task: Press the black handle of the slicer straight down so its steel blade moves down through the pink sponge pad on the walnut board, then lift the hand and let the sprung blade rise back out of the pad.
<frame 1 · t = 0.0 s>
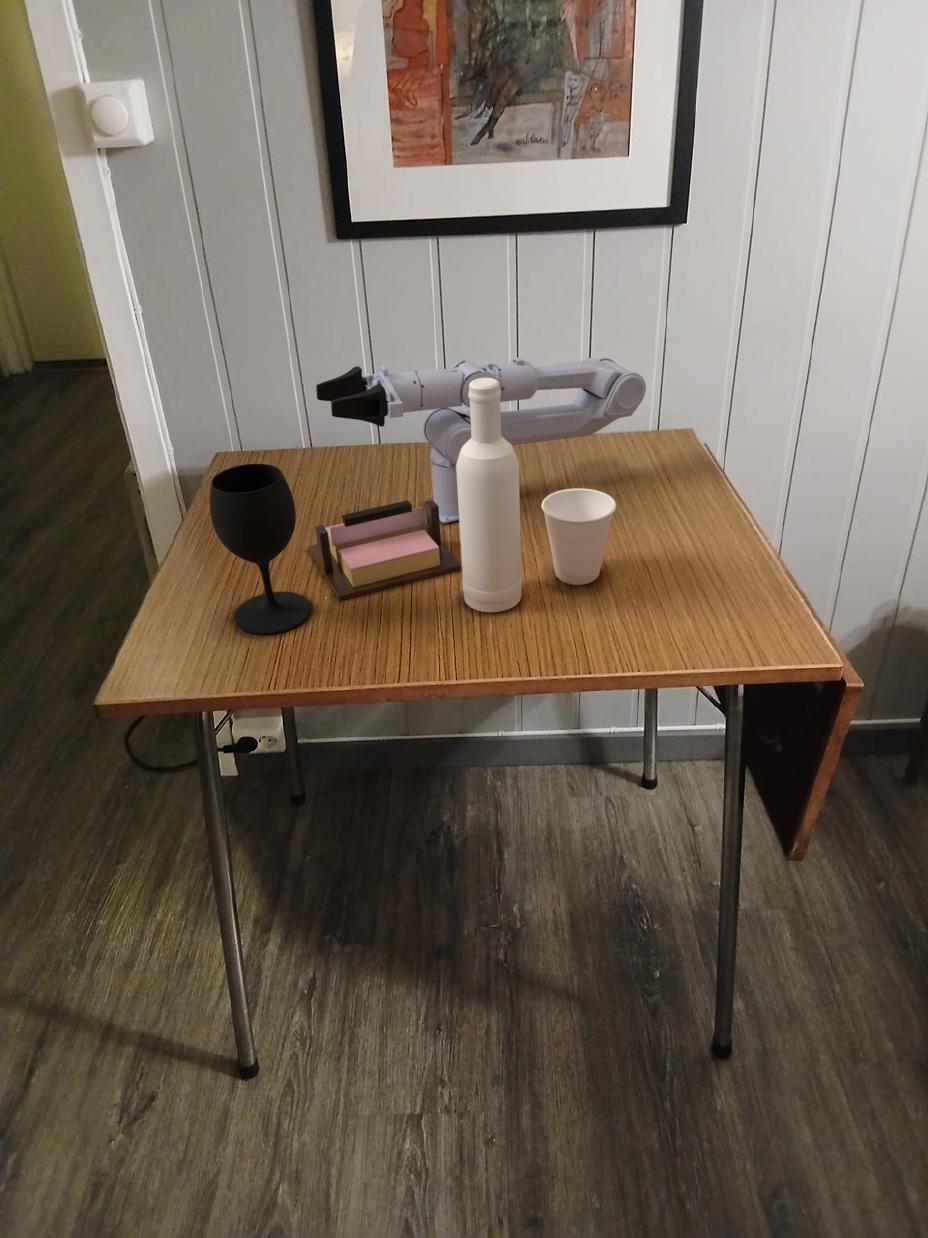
hand: (324, 400, 131), 22 cm above the table, tool horizontal, fingers open, 7 cm apart
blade: (378, 522, 133), point 6 cm above the table, slide at 0.0 cm
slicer: (382, 560, 136), on the table
bottle: (492, 599, 126), on the table
cup: (577, 576, 130), on the table
wine glass: (273, 615, 125), on the table
pink sponge pad: (382, 560, 136), resting on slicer
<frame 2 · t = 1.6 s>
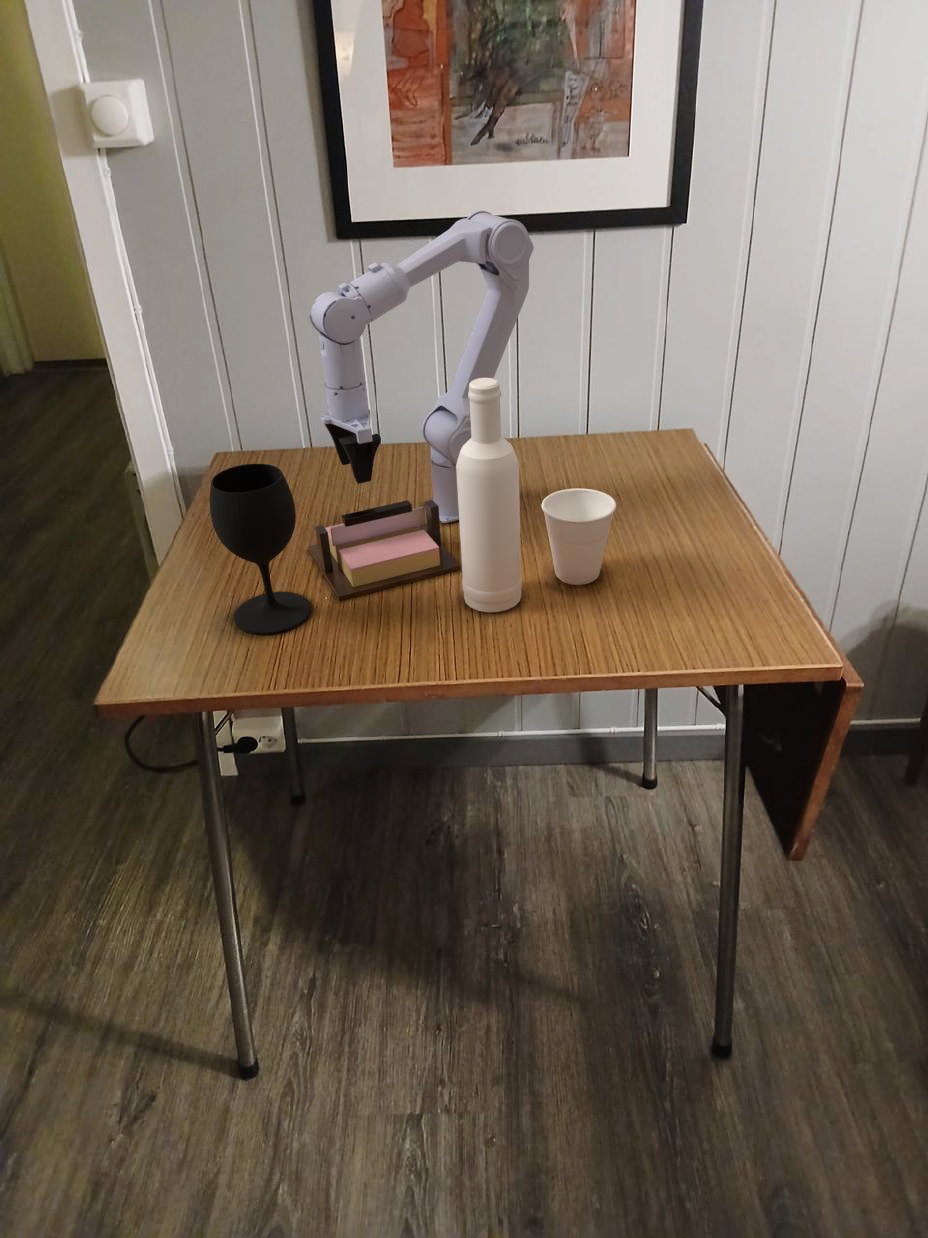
hand: (356, 472, 137), 10 cm above the table, tool pointing down, fingers open, 7 cm apart
nothing on the table moved.
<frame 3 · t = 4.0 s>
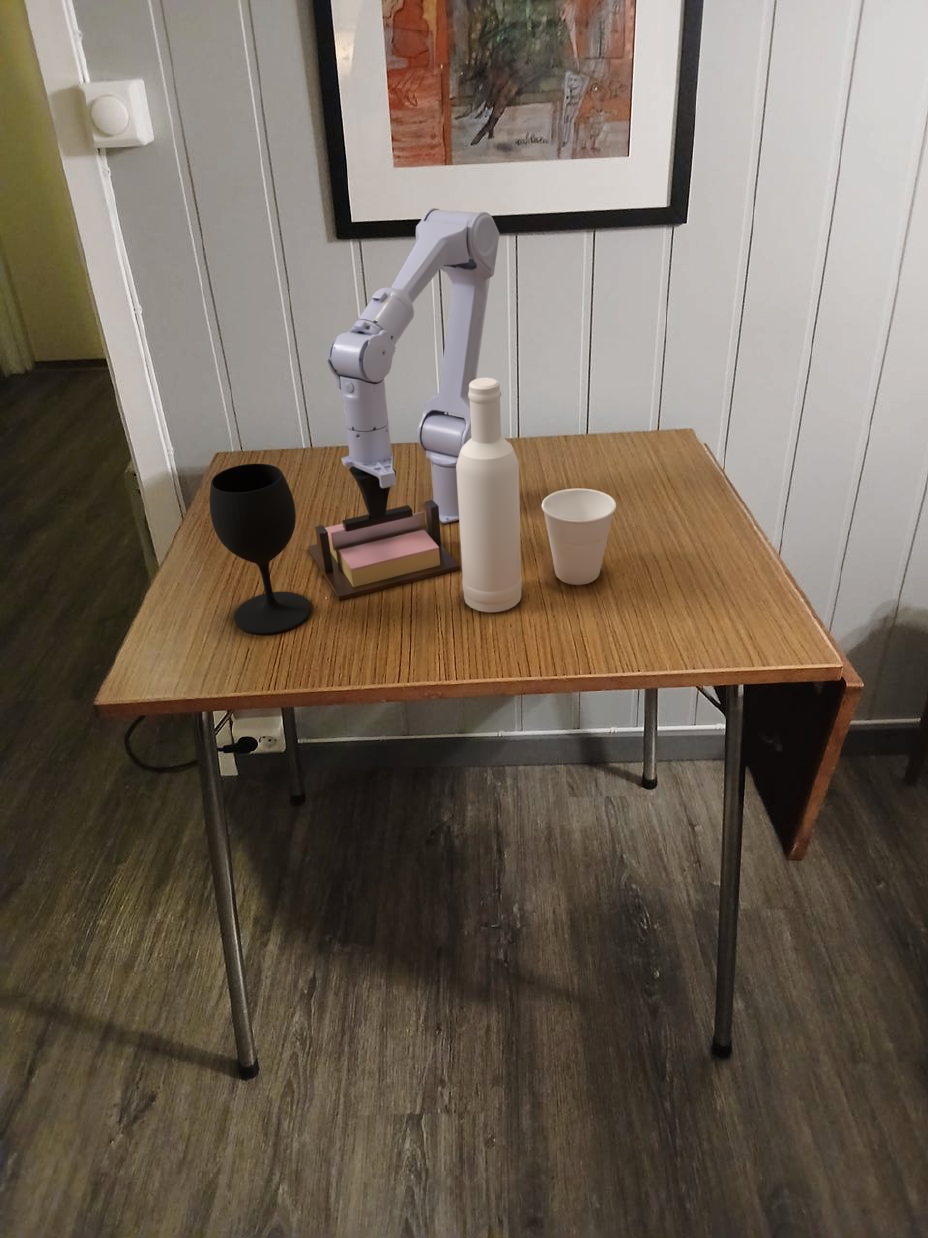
hand: (377, 514, 132), 7 cm above the table, tool pointing down, fingers closed, pressing on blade
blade: (378, 527, 133), point 5 cm above the table, slide at -0.8 cm, touching gripper
everything else where it was.
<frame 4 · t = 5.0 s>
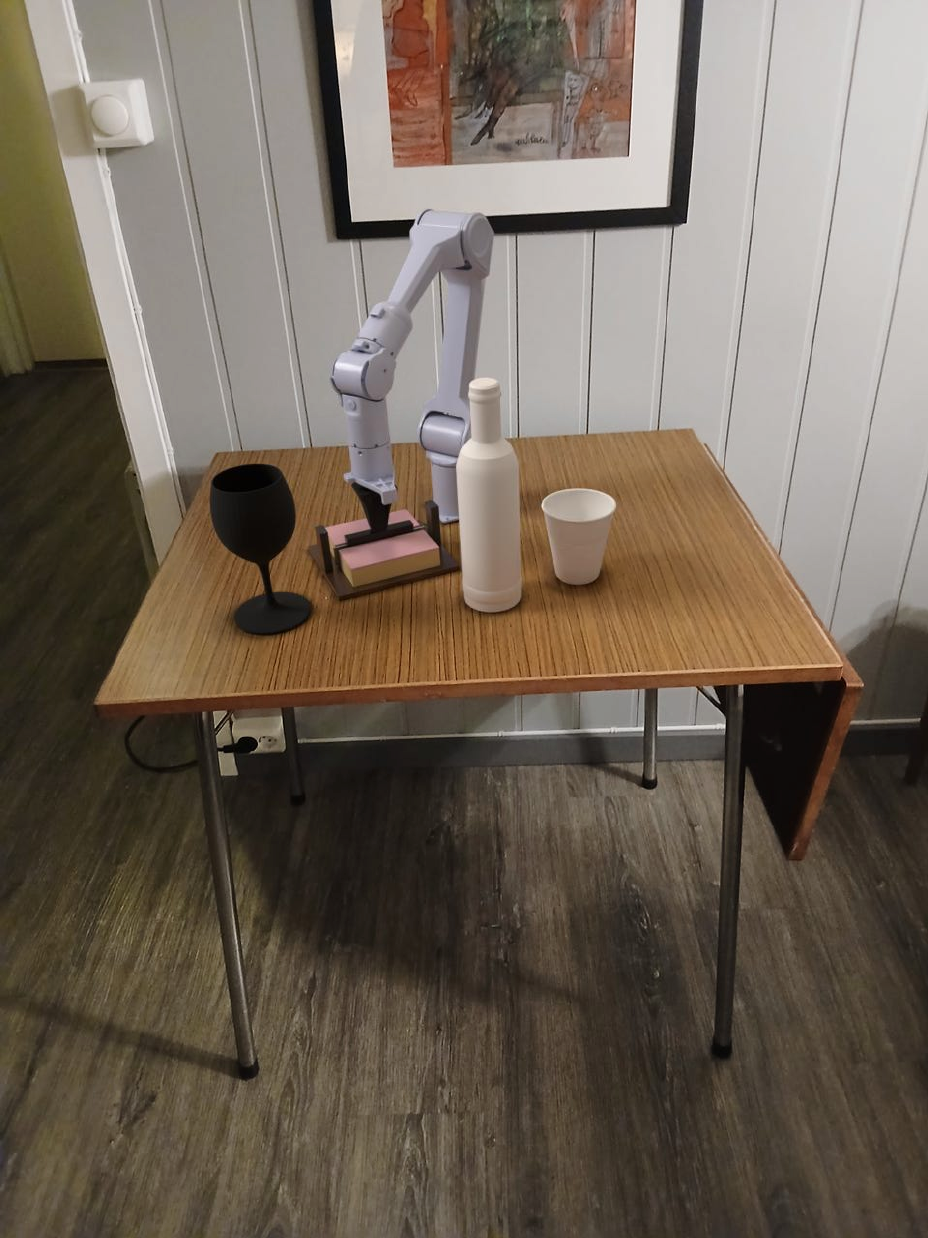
hand: (378, 529, 133), 5 cm above the table, tool pointing down, fingers closed, pressing on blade
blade: (380, 541, 134), point 3 cm above the table, slide at -3.1 cm, touching gripper
everything else where it was.
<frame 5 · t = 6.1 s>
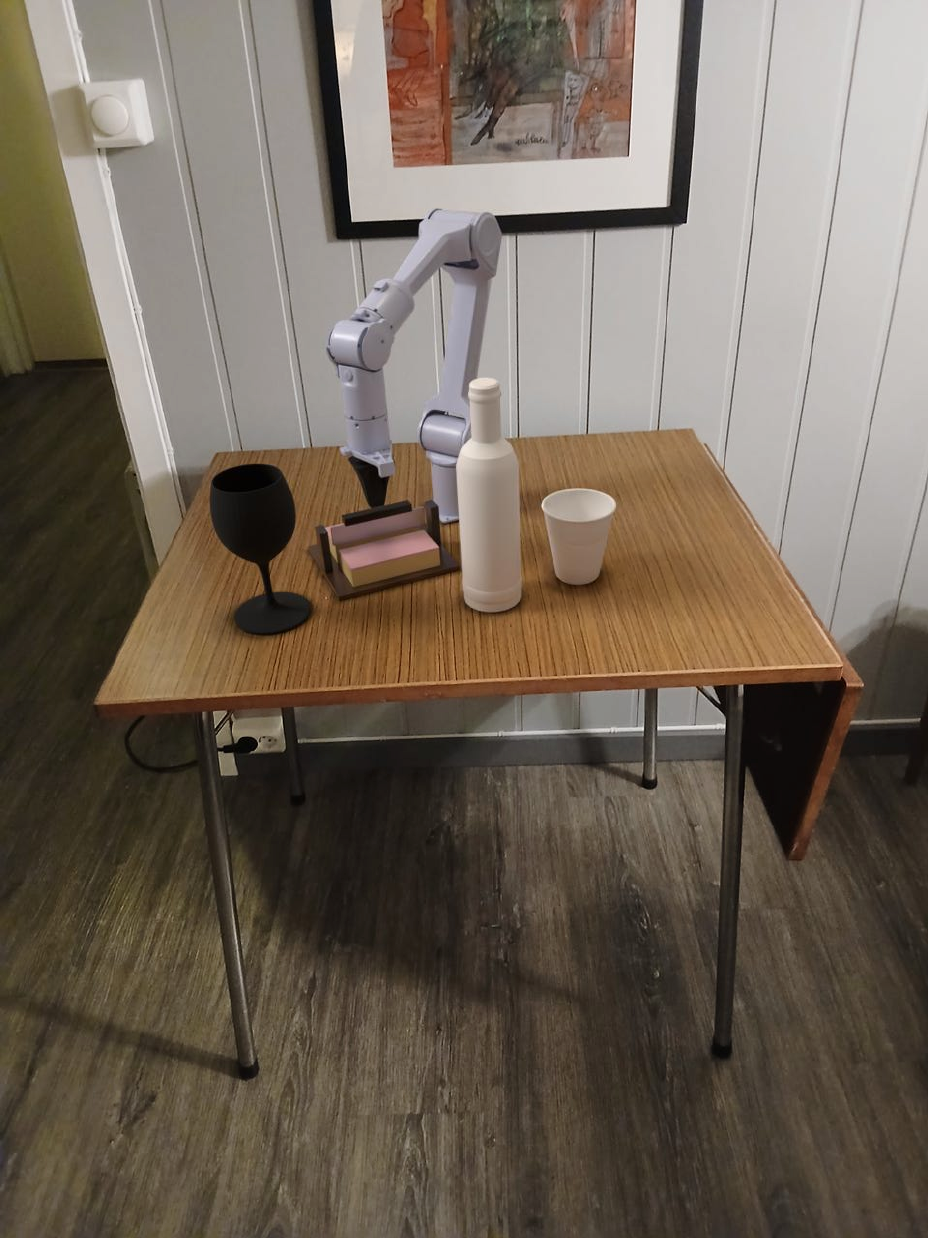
hand: (376, 504, 131), 9 cm above the table, tool pointing down, fingers closed
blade: (378, 521, 133), point 6 cm above the table, slide at 0.1 cm
everything else where it was.
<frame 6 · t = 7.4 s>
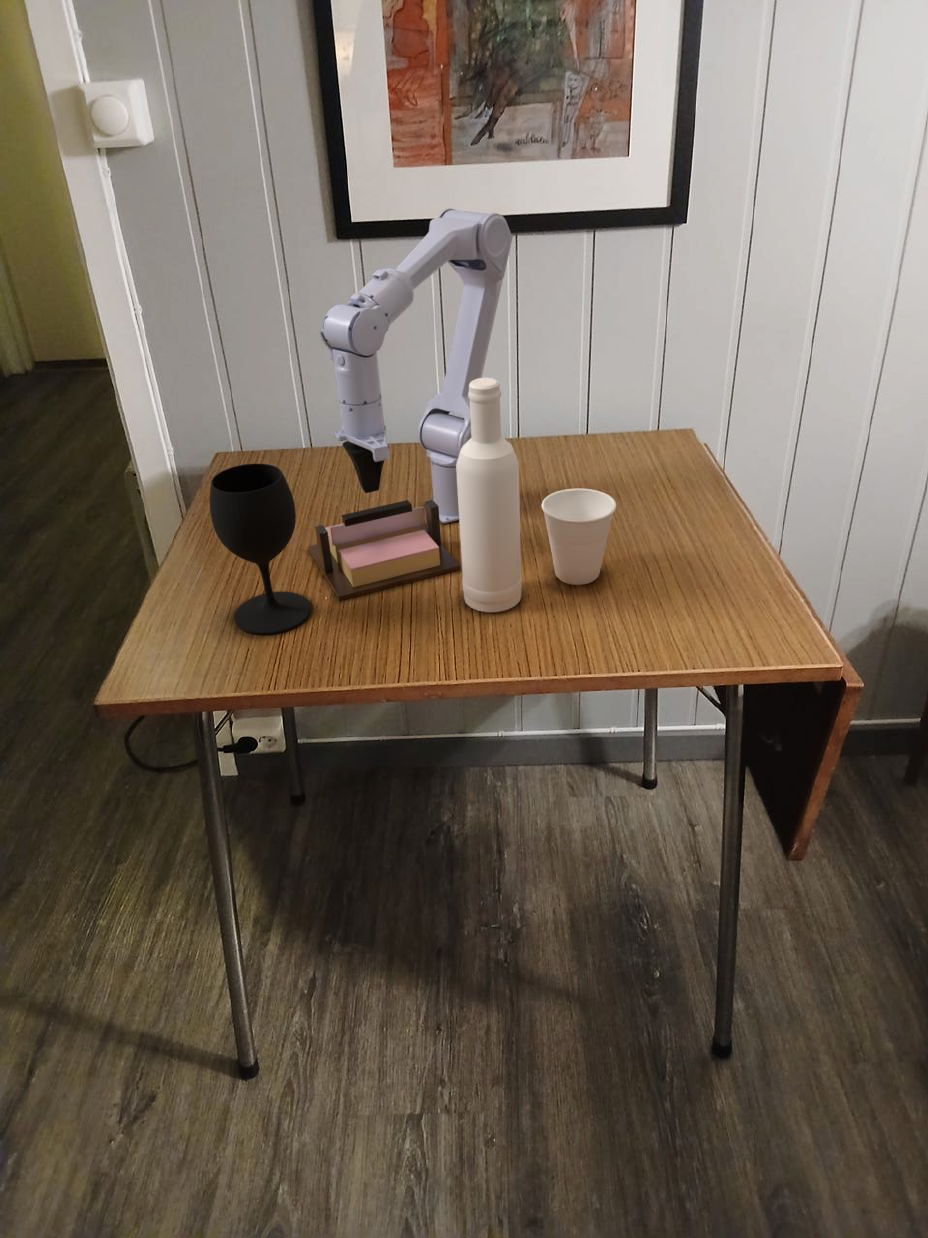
hand: (370, 489, 132), 10 cm above the table, tool pointing down, fingers closed
nothing on the table moved.
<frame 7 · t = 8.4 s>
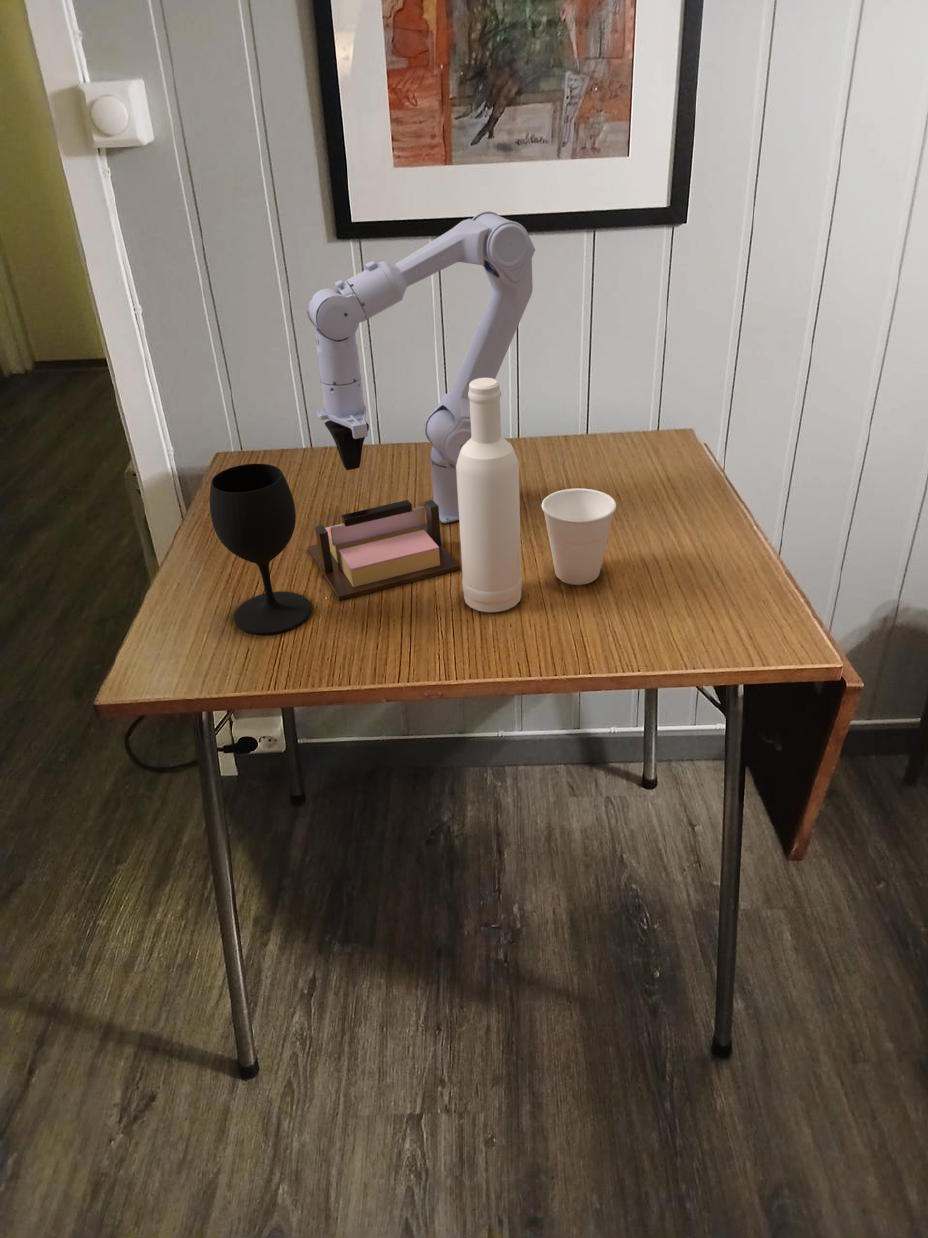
hand: (352, 467, 139), 10 cm above the table, tool pointing down, fingers closed
nothing on the table moved.
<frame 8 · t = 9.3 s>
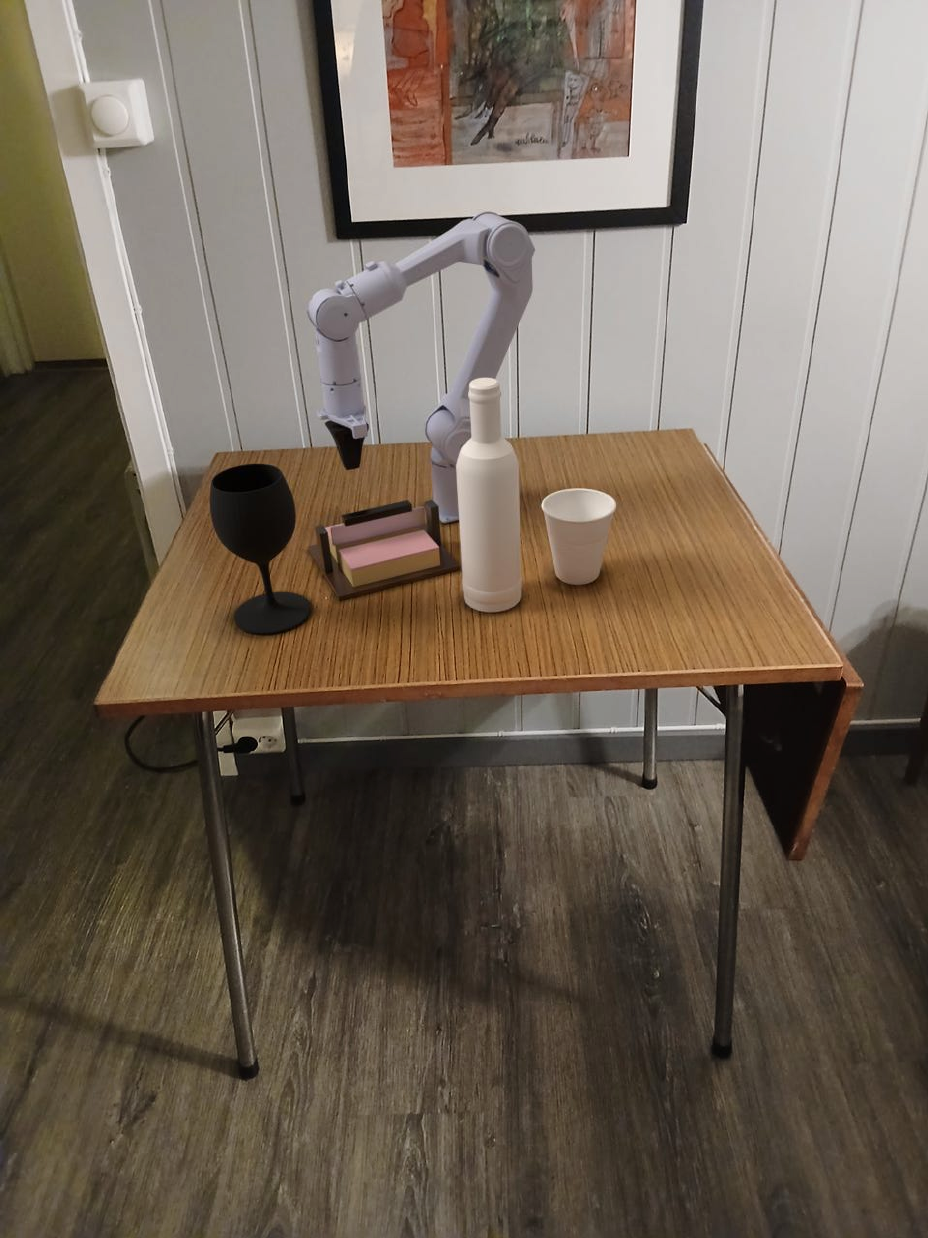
hand: (352, 467, 139), 10 cm above the table, tool pointing down, fingers closed
nothing on the table moved.
at the end: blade pushed in 3.1 cm at the most during the clip, back to where it started at the end; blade slide at 0.1 cm; the gripper is holding nothing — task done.
